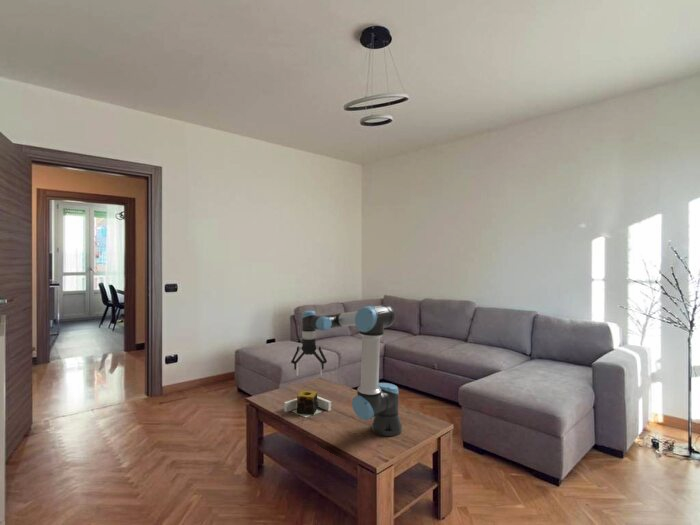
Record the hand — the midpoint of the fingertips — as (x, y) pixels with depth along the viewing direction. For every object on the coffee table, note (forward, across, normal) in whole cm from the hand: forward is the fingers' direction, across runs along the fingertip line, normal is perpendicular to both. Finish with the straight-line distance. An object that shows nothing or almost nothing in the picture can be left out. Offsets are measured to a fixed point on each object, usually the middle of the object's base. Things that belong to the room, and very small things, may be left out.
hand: (309, 375), depth 218 cm
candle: (+21, +1, 0) cm, 21 cm away
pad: (+21, +1, 0) cm, 21 cm away
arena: (+21, 0, -1) cm, 21 cm away
